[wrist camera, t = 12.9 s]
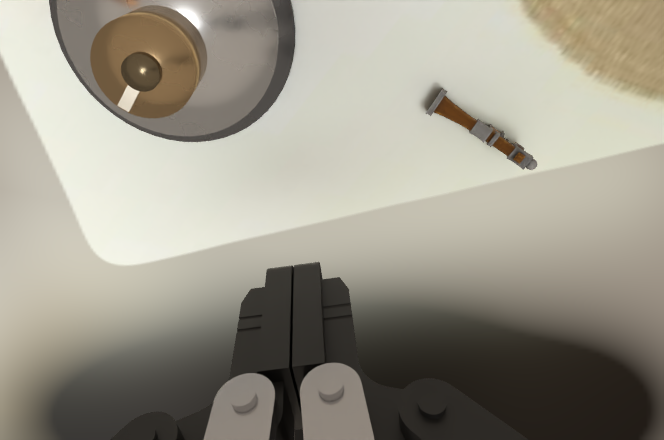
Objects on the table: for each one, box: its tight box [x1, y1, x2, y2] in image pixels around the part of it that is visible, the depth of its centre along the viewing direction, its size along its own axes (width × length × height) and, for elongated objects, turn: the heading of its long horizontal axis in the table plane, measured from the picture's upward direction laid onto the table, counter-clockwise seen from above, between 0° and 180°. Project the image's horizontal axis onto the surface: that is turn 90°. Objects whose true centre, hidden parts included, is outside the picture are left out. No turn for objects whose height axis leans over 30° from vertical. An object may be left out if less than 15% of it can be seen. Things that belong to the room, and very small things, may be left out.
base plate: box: [49, 0, 295, 142], centre depth 26 cm, size 14×14×1 cm
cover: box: [90, 5, 207, 118], centre depth 24 cm, size 5×5×5 cm
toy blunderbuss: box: [426, 89, 537, 170], centre depth 30 cm, size 2×8×4 cm, turn 61°
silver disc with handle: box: [57, 0, 279, 136], centre depth 24 cm, size 16×12×4 cm
